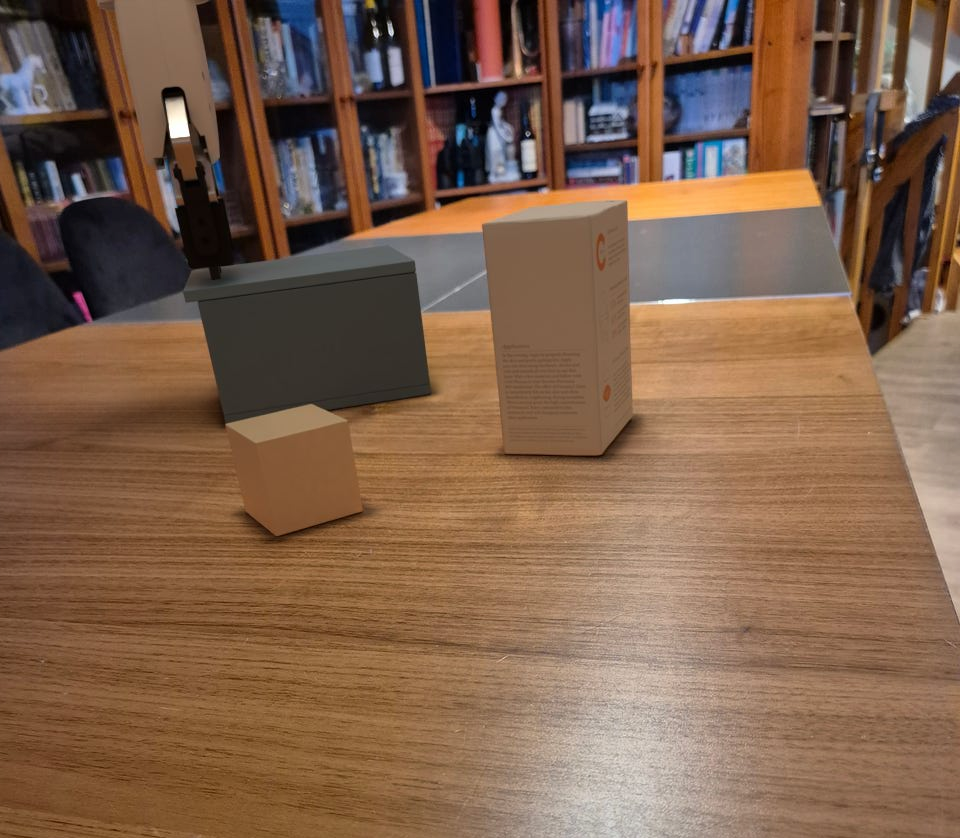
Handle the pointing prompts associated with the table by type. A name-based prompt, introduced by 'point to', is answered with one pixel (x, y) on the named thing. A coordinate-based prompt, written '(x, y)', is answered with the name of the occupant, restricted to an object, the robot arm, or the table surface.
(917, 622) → the table surface
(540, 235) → the small box
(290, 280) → the cool box lid
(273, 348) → the cool box
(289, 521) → the block
